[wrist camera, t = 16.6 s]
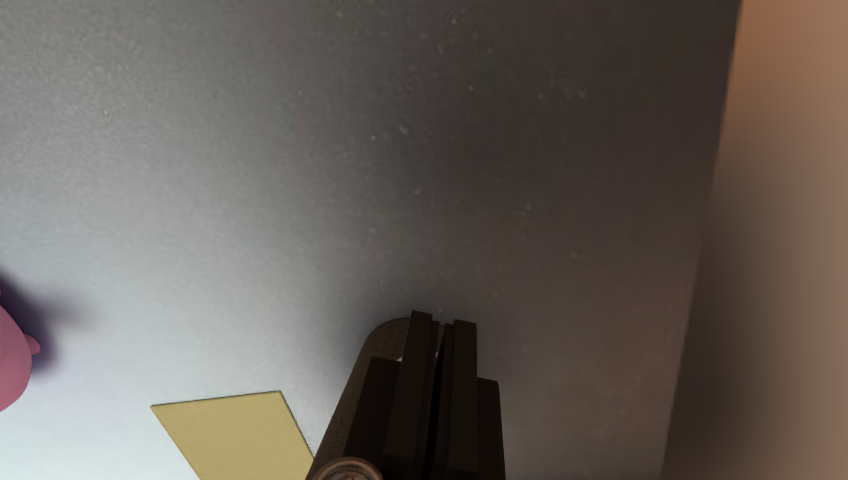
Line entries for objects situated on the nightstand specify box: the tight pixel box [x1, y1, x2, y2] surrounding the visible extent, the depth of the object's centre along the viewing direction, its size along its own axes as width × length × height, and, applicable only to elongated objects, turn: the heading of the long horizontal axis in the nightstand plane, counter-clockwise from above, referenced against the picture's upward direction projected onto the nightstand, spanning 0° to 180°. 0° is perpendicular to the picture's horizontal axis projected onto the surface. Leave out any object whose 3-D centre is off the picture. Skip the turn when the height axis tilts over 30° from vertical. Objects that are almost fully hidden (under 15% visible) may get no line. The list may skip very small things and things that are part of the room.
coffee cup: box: [305, 318, 444, 480], centre depth 20 cm, size 10×10×15 cm
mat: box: [150, 391, 314, 480], centre depth 31 cm, size 10×10×1 cm
